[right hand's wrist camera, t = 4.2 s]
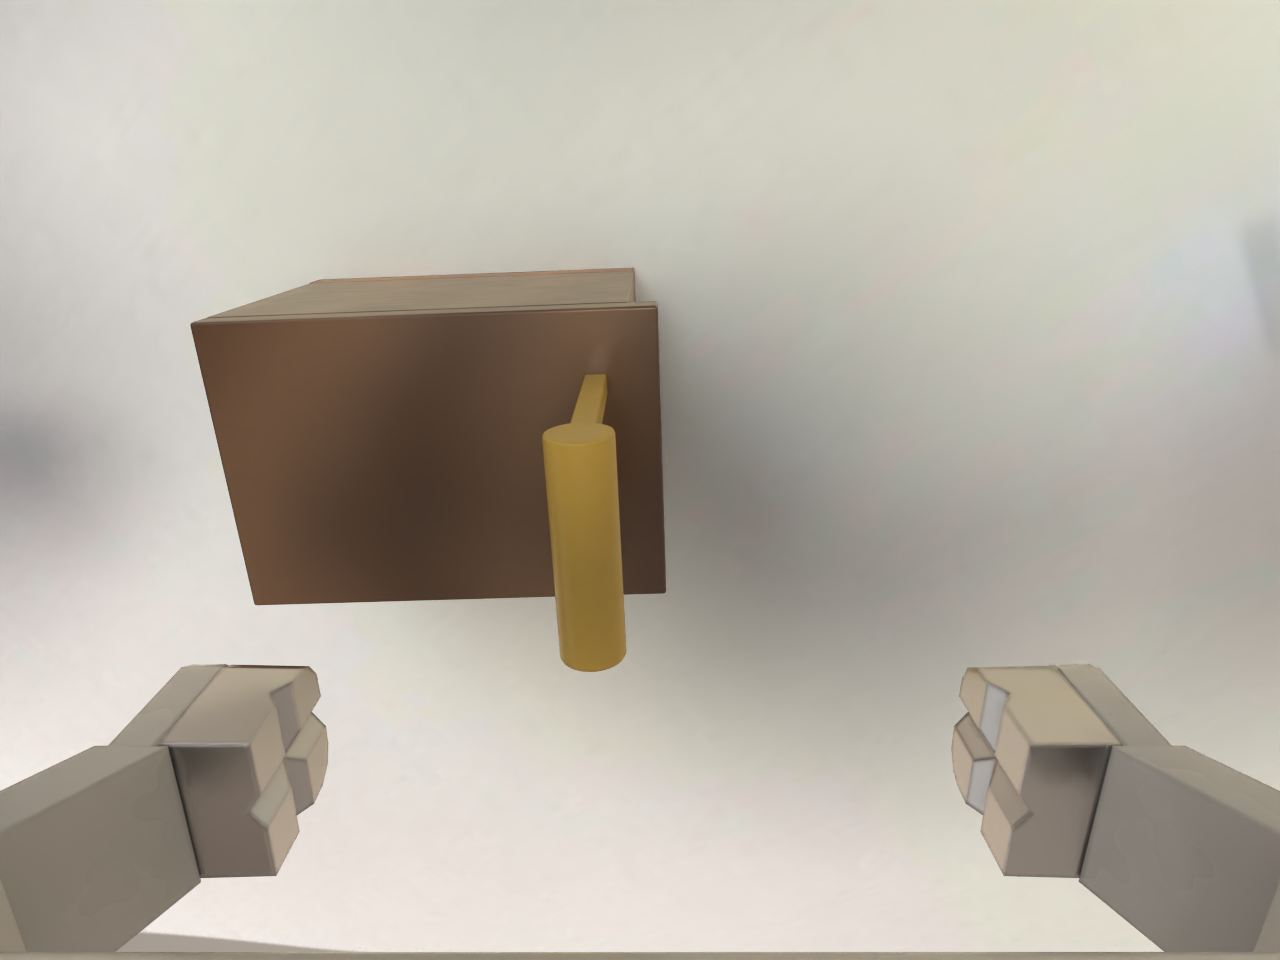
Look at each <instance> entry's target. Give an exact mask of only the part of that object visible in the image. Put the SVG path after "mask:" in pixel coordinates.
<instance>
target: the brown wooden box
mask: <svg viewBox="0 0 1280 960" xmlns="http://www.w3.org/2000/svg"><path fill="white" fill-rule="evenodd" d="M628 302H635V281H634V268H617V269H591V270H564V271H538V272H512V273H485V274H459V275H433V276H406V277H380V278H353V279H327V280H318V281H315V282H312V283H310V284H308V285H305V286H301V287H298V288H295V289H292V290H289V291H286V292H283V293H280V294H277V295H274V296H271V297H268V298H265V299H262V300H259V301H256V302H253V303H250V304H247V305H244V306H241V307H238V308H234V309H231V310H228V311H225V312H222V313H219V314H216V315H213V316H210V317H208V318H223V317H250V316H277V315H304V314H331V313H358V312H385V311H412V310H439V309H466V308H493V307H520V306H547V305H574V304H601V303H628Z"/></svg>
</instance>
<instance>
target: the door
mask: <svg viewBox="0 0 1280 960" xmlns="http://www.w3.org/2000/svg"><path fill="white" fill-rule="evenodd" d="M191 330H192V334H193V338H194V343H195V347H196V351H197V356H198V360H199V364H200V369H201V373H202V377H203V382H204V386H205V391H206V395H207V399H208V404H209V408H210V412H211V417H212V421H213V425H214V430H215V434H216V438H217V443H218V447H219V451H220V456H221V460H222V465H223V469H224V473H225V478H226V482H227V486H228V491H229V495H230V499H231V504H232V508H233V512H234V517H235V521H236V525H237V530H238V534H239V538H240V543H241V547H242V552H243V556H244V560H245V565H246V569H247V573H248V578H249V582H250V586H251V591H252V595H253V599H254V604H255V605H278V604H312V603H347V602H381V601H415V600H450V599H484V598H519V597H553V596H555V598H556V610H557V622H558V634H559V646H560V656H561V659H562V661H563V662H564V664H566V665H567V666H568V667H570V668H572V669H575V670H578V671H585V672H595V671H602V670H606V669H609V668H611V667H614V666H615V665H617V664H618V663H620V662H621V661H622V660H623V658H624V657H625V654H626V635H625V615H624V596H623V594H656V593H665V592H666V568H665V535H664V502H663V469H662V436H661V402H660V369H659V336H658V306H657V302H628V303H601V304H574V305H547V306H520V307H493V308H466V309H439V310H412V311H385V312H358V313H331V314H304V315H277V316H250V317H223V318H205V319H202V320H199V321H196V322H193V323H191Z"/></svg>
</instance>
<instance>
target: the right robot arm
mask: <svg viewBox="0 0 1280 960" xmlns="http://www.w3.org/2000/svg"><path fill="white" fill-rule="evenodd" d="M320 697H321V694H320V690H319V685H318V680H317V675H316V673H315V672H314V671H313V670H312V669H311V668H310V667H309V666H265V665H230V666H229V665H226V664H220V665H190V666H186V667H182V668H181V669H180V670H179V671H178V672H177V673H176V674H175V675H174V676H173V677H172V678H171V679H170V680H169V681H168V682H167V684H166V685H165V686H164V687H163V688H162V689H161V690H160V691H159V692H158V693H157V694H156V695H155V696H154V697H153V698H152V700H151V701H150V702H149V703H148V704H147V705H146V706H145V707H144V708H143V709H142V710H141V711H140V712H139V713H138V714H137V716H136V717H135V718H134V719H133V720H132V721H131V722H130V723H129V724H128V725H127V726H126V727H125V728H124V729H123V730H122V732H121V733H120V734H119V735H118V736H117V737H116V738H115V739H114V740H113V741H112V742H111V743H110V744H109V745H108V746H94V747H91V748H89V749H87V750H85V751H83V752H81V753H79V754H77V755H75V756H73V757H71V758H68V759H66V760H64V761H62V762H60V763H58V764H56V765H54V766H52V767H50V768H48V769H45V770H43V771H41V772H39V773H37V774H35V775H33V776H31V777H29V778H27V779H25V780H22V781H20V782H18V783H16V784H14V785H12V786H10V787H8V788H6V789H4V790H2V791H0V960H1280V791H1278V790H1276V789H1274V788H1272V787H1270V786H1268V785H1266V784H1264V783H1262V782H1259V781H1257V780H1255V779H1253V778H1251V777H1249V776H1247V775H1245V774H1243V773H1241V772H1239V771H1237V770H1234V769H1232V768H1230V767H1228V766H1226V765H1224V764H1222V763H1220V762H1218V761H1216V760H1214V759H1211V758H1209V757H1207V756H1205V755H1203V754H1201V753H1199V752H1197V751H1195V750H1193V749H1191V748H1189V747H1186V746H1172V745H1171V744H1170V743H1169V742H1168V741H1167V740H1166V739H1165V738H1164V737H1163V736H1162V735H1161V734H1160V733H1159V732H1158V730H1157V729H1156V728H1155V727H1154V726H1153V725H1152V724H1151V723H1150V722H1149V721H1148V720H1147V719H1146V718H1145V717H1144V715H1143V714H1142V713H1141V712H1140V711H1139V710H1138V709H1137V708H1136V707H1135V706H1134V705H1133V704H1132V703H1131V702H1130V701H1129V699H1128V698H1127V697H1126V696H1125V695H1124V694H1123V693H1122V692H1121V691H1120V690H1119V689H1118V688H1117V687H1116V686H1115V684H1114V683H1113V682H1112V681H1111V680H1110V679H1109V678H1108V677H1107V676H1106V675H1105V674H1104V673H1103V672H1102V671H1101V670H1100V669H1099V668H1097V667H1095V666H1092V665H1090V664H1076V665H1049V666H1024V667H976V668H967V670H966V672H965V674H964V676H963V678H962V683H961V689H960V694H959V697H960V698H961V700H962V702H963V703H964V705H965V707H966V708H967V710H968V713H967V714H966V715H965V716H964V717H963V718H962V719H961V720H960V721H959V722H958V723H957V724H956V725H955V726H954V732H953V740H952V749H951V750H952V760H953V771H954V775H955V778H956V781H957V785H958V788H959V790H960V792H961V794H962V796H963V798H964V800H965V802H966V804H967V805H969V806H970V807H972V808H973V809H975V810H976V811H978V812H979V813H980V814H982V815H983V821H982V826H981V833H982V835H983V837H984V839H985V841H986V843H987V845H988V847H989V849H990V850H991V852H992V854H993V856H994V858H995V860H996V862H997V864H998V866H999V867H1000V869H1001V871H1002V873H1003V875H1004V876H1025V877H1061V878H1080V879H1079V882H1080V883H1081V884H1083V885H1084V886H1085V887H1086V888H1087V889H1089V890H1090V891H1091V892H1092V893H1093V894H1095V895H1096V896H1097V897H1098V898H1100V899H1101V900H1102V901H1103V902H1104V903H1106V904H1107V905H1108V906H1109V907H1111V908H1112V909H1113V910H1114V911H1115V912H1117V913H1118V914H1119V915H1120V916H1122V917H1123V918H1124V919H1125V920H1126V921H1128V922H1129V923H1130V924H1131V925H1133V926H1134V927H1135V928H1136V929H1137V930H1139V931H1140V932H1141V933H1142V934H1143V935H1145V936H1146V937H1147V938H1148V939H1150V940H1151V941H1152V942H1153V943H1154V944H1156V945H1157V946H1158V947H1159V948H1161V949H1162V950H1163V951H1164V952H116V951H117V950H118V949H120V948H121V947H122V946H123V945H125V944H126V943H127V942H128V941H129V940H131V939H132V938H133V937H134V936H136V935H137V934H138V933H139V932H140V931H142V930H143V929H144V928H145V927H147V926H148V925H149V924H150V923H151V922H153V921H154V920H155V919H156V918H158V917H159V916H160V915H161V914H162V913H164V912H165V911H166V910H167V909H169V908H170V907H171V906H172V905H173V904H175V903H176V902H177V901H178V900H180V899H181V898H182V897H183V896H184V895H186V894H187V893H188V892H189V891H191V890H192V889H193V888H194V887H195V886H197V885H198V884H199V883H200V882H201V879H200V878H218V877H253V876H276V875H277V873H278V871H279V870H280V868H281V866H282V864H283V862H284V860H285V858H286V856H287V854H288V852H289V850H290V849H291V847H292V845H293V843H294V841H295V839H296V837H297V835H298V833H299V826H298V821H297V815H298V814H300V813H301V812H302V811H304V810H305V809H307V808H308V807H310V806H311V805H313V804H314V802H315V800H316V798H317V796H318V794H319V792H320V790H321V788H322V786H323V782H324V777H325V773H326V768H327V764H328V738H327V731H326V726H325V725H324V724H323V723H322V722H321V721H320V720H319V719H318V718H317V717H316V716H315V715H314V714H313V713H312V710H313V708H314V707H315V705H316V703H317V702H318V700H319V698H320Z"/></svg>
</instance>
